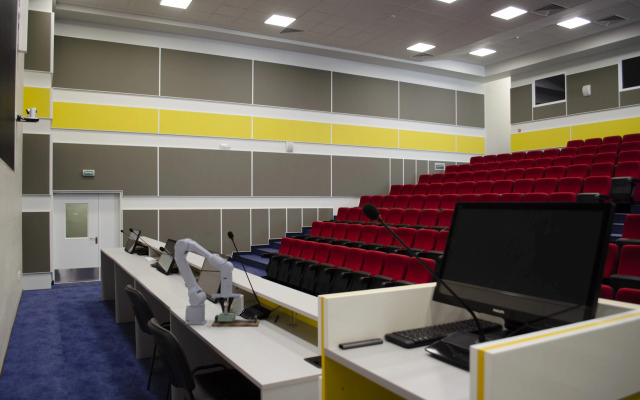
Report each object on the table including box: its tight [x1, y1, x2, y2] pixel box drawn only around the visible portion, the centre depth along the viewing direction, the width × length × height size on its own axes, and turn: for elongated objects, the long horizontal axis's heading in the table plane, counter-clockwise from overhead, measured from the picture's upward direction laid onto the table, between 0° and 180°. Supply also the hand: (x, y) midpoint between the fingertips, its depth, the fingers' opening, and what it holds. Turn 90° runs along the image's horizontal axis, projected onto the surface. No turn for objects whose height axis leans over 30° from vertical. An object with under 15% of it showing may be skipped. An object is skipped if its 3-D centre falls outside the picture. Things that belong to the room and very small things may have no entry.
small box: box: [226, 294, 245, 317], centre depth 254 cm, size 8×6×10 cm
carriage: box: [218, 304, 234, 321], centre depth 234 cm, size 7×7×7 cm
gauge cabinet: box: [229, 309, 236, 319], centre depth 243 cm, size 6×6×5 cm
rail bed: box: [211, 314, 260, 328], centre depth 234 cm, size 23×10×4 cm, turn 93°
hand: (226, 312), depth 234 cm, fingers closed on carriage, 2 cm apart
